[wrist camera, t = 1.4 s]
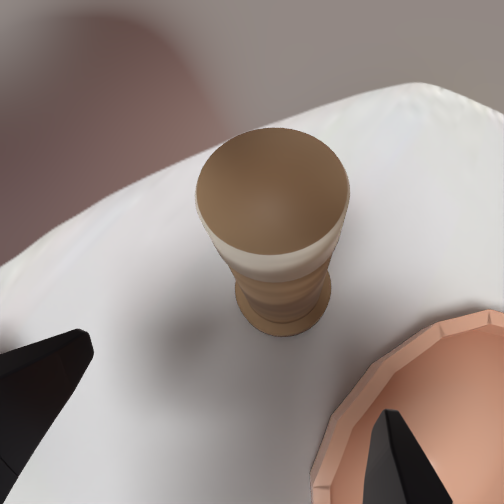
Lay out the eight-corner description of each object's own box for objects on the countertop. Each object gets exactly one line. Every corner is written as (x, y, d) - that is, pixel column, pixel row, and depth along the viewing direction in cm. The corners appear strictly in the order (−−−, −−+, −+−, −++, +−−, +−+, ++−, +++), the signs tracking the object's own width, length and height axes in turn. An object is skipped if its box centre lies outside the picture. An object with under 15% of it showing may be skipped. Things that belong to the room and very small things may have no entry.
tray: (438, 596, 9) (449, 610, 6) (243, 503, 16) (236, 520, 14) (577, 397, 14) (597, 394, 11) (433, 266, 21) (449, 250, 19)
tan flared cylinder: (290, 355, 20) (287, 320, 8) (219, 297, 22) (141, 201, 11) (346, 283, 22) (400, 170, 10) (276, 233, 24) (259, 95, 12)
